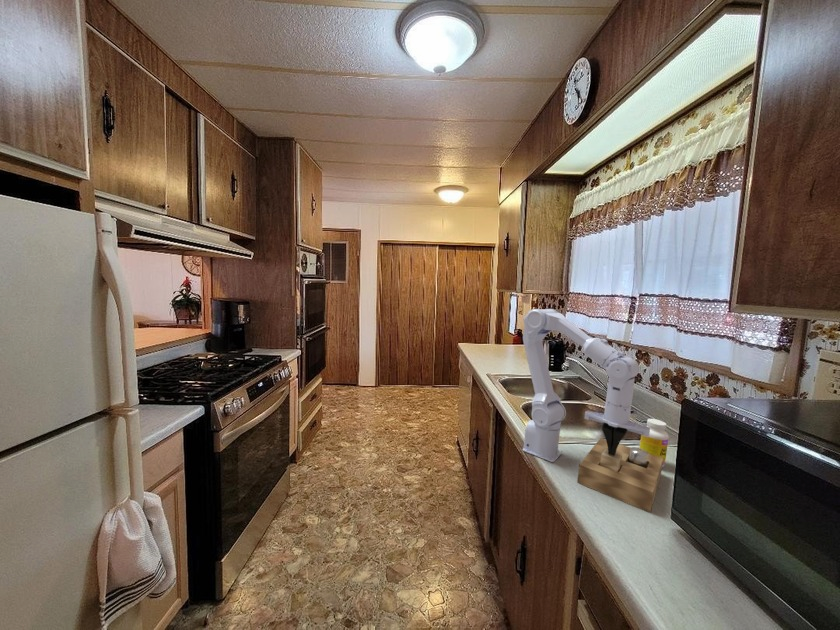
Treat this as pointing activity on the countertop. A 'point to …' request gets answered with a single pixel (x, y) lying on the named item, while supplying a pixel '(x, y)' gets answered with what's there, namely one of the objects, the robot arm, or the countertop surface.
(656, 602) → the countertop surface
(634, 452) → the peg steel
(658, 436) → the supplement bottle
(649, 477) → the oak block
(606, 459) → the peg maple
